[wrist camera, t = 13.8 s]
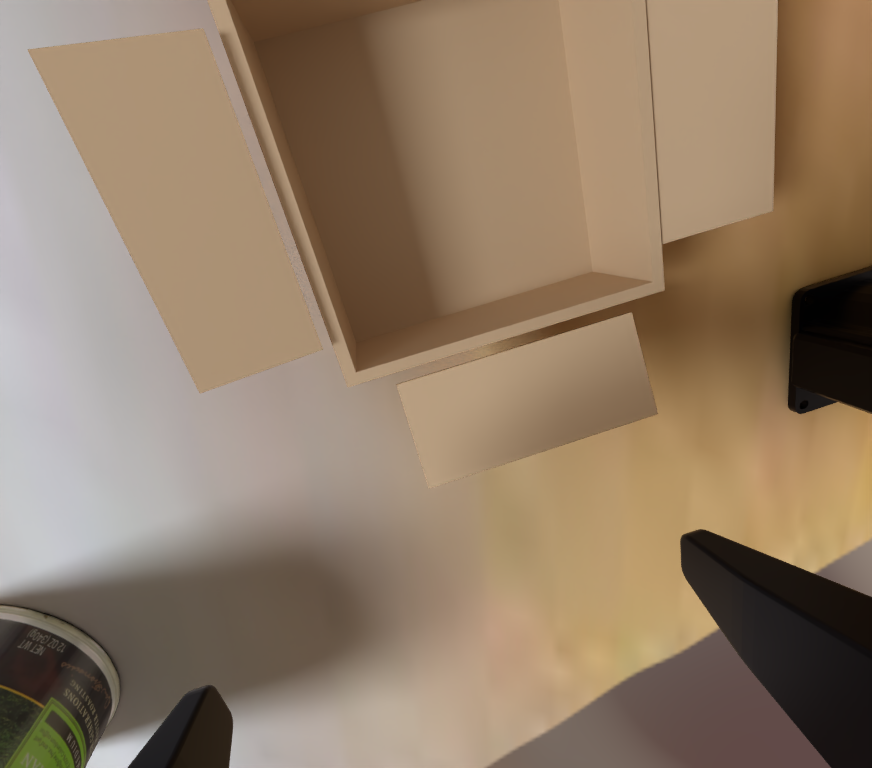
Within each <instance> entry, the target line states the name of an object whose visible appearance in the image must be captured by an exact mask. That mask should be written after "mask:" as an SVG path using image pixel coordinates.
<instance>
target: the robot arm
mask: <svg viewBox="0 0 872 768" xmlns="http://www.w3.org/2000/svg"><path fill="white" fill-rule="evenodd" d="M805 299H806V300H805ZM836 402H840V403H843V404H845V405H848V406H851V407H854V408H857V409H859V410H862V411H865V412H868V413H871V414H872V266H871V267H868V268H865V269H862V270H859V271H855V272H852V273H849V274H846V275H843V276H839V277H836V278H833V279H830V280H827V281H823V282H820V283H817V284H814V285H811V286H808V287H804V288H802V289H800V290H798V291H797V292H796V293H795V295H794V296H793V300H792V317H791V342H790V367H789V392H788V408H789V409H790V410H792V411H794V412H797V413H799V414H802V413H806V412H809V411H812V410H815V409H818V408H821V407H824V406H827V405H830V404H833V403H836ZM680 545H681V567H682V571H683V574H684V576H685V578H686V580H687V581H688V583H689V584H690V586H691V587H692V589H693V590H694V591H695V593H696V594H697V596H698V597H699V599H700V600H701V602H702V603H703V604H704V606H705V607H706V609H707V610H708V612H709V613H710V615H711V616H712V618H713V619H714V620H715V622H716V623H717V625H718V626H719V628H720V629H721V631H722V632H723V633H724V635H725V636H726V637H727V639H728V641H729V642H730V644H731V645H732V646H733V648H734V649H735V651H736V652H737V653H738V655H739V656H740V657H741V659H742V660H743V661H744V663H745V664H746V665H747V666H748V668H749V669H750V670H751V671H752V673H753V674H754V675H755V676H756V677H757V679H758V680H759V681H760V682H761V683H762V685H763V686H764V687H765V688H766V690H767V691H768V692H769V693H770V694H771V696H772V697H773V698H774V699H775V700H776V702H777V703H778V704H779V705H780V706H781V708H782V709H783V710H784V711H785V712H786V714H787V715H788V716H789V717H790V719H791V720H792V721H793V722H794V723H795V724H796V726H797V727H798V728H799V729H800V730H801V732H802V733H803V734H804V735H805V737H806V738H807V739H808V740H809V741H810V743H811V744H812V745H813V746H814V747H815V749H816V750H817V751H818V752H819V753H820V755H821V756H822V757H823V758H824V760H825V761H826V762H827V763H828V764H829V766H830V767H831V768H872V597H870V596H868V595H865V594H863V593H860V592H858V591H856V590H853V589H851V588H848V587H845V586H843V585H841V584H838V583H836V582H833V581H831V580H828V579H826V578H823V577H821V576H818V575H816V574H813V573H811V572H809V571H806V570H804V569H801V568H799V567H796V566H794V565H791V564H789V563H786V562H784V561H781V560H779V559H776V558H774V557H771V556H769V555H766V554H764V553H761V552H759V551H757V550H754V549H752V548H749V547H747V546H744V545H742V544H739V543H737V542H734V541H732V540H729V539H727V538H724V537H722V536H719V535H717V534H714V533H712V532H709V531H707V530H703V529H700V530H696V531H692V532H689V533H686V534H684V535H682V537H681V540H680ZM232 733H233V719H232V715H231V712H230V710H229V709H228V707H227V705H226V704H225V702H224V700H223V699H222V697H221V696H220V694H219V692H218V691H217V689H216V688H215V687H214V686H212V685H207V686H204V687H201V688H198V689H194V690H192V691H189V692H188V693H187V694H185V696H184V697H183V698H182V699H181V700H180V702H179V703H178V704H177V705H176V707H175V708H174V709H173V710H172V712H171V713H170V714H169V716H168V717H167V718H166V719H165V721H164V722H163V723H162V724H161V726H160V727H159V728H158V730H157V731H156V732H155V733H154V735H153V736H152V737H151V738H150V740H149V741H148V742H147V744H146V745H145V746H144V747H143V749H142V750H141V751H140V752H139V754H138V755H137V756H136V758H135V759H134V760H133V761H132V763H131V764H130V765H129V766H128V768H229V762H230V752H231V743H232Z"/></svg>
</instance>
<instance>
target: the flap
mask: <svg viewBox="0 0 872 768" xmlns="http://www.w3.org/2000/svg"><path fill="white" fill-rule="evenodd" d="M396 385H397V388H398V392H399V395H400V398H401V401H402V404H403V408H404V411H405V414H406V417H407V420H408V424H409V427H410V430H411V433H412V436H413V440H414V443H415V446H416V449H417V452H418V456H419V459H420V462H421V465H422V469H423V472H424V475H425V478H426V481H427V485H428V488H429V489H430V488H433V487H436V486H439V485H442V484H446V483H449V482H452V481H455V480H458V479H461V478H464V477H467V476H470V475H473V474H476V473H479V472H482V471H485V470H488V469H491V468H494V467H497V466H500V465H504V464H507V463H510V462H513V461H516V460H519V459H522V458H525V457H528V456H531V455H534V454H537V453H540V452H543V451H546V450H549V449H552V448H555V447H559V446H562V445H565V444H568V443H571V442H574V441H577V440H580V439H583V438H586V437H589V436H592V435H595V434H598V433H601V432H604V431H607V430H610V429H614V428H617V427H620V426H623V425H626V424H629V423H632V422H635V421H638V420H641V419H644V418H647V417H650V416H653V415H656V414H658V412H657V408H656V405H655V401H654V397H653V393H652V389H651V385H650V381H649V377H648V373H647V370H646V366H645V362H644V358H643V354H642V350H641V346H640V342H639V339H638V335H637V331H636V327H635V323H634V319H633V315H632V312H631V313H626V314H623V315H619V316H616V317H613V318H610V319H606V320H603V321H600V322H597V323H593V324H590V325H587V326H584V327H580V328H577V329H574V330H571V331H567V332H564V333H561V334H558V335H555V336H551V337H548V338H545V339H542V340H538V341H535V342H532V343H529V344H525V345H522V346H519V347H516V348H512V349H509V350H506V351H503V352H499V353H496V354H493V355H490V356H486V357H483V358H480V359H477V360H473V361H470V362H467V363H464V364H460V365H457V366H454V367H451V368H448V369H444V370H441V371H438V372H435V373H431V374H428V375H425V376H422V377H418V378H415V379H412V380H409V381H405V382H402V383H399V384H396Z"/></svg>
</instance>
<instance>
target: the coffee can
mask: <svg viewBox="0 0 872 768" xmlns="http://www.w3.org/2000/svg"><path fill="white" fill-rule="evenodd" d="M119 696H120V683H119V677H118V674H117V671H116V669H115V667H114V665H113V664H112V662H111V659H110V658H109V657H108V655H107V654H106V652H105V651H104V650H103V648H102V647H101V646H100V645H99V644H97V643H96V642H95V641H94V640H93V639H92V638H91V637H89V636H88V635H87V634H85V633H84V632H82V631H81V630H79V629H77V628H76V627H74V626H72V625H70V624H68V623H66V622H65V621H62V620H60V619H57V618H55V617H52V616H49V615H46V614H43V613H39V612H36V611H33V610H29V609H25V608H21V607H15V606H6V605H0V768H85V767H86V765H87V763H88V761H89V759H90V757H91V755H92V753H93V751H94V749H95V747H96V745H97V743H98V741H99V739H100V738H101V736H102V734H103V732H104V730H105V728H106V727H107V725H108V724H109V722H110V721H111V719H112V718H113V716H114V713H115V711H116V709H117V705H118V702H119Z"/></svg>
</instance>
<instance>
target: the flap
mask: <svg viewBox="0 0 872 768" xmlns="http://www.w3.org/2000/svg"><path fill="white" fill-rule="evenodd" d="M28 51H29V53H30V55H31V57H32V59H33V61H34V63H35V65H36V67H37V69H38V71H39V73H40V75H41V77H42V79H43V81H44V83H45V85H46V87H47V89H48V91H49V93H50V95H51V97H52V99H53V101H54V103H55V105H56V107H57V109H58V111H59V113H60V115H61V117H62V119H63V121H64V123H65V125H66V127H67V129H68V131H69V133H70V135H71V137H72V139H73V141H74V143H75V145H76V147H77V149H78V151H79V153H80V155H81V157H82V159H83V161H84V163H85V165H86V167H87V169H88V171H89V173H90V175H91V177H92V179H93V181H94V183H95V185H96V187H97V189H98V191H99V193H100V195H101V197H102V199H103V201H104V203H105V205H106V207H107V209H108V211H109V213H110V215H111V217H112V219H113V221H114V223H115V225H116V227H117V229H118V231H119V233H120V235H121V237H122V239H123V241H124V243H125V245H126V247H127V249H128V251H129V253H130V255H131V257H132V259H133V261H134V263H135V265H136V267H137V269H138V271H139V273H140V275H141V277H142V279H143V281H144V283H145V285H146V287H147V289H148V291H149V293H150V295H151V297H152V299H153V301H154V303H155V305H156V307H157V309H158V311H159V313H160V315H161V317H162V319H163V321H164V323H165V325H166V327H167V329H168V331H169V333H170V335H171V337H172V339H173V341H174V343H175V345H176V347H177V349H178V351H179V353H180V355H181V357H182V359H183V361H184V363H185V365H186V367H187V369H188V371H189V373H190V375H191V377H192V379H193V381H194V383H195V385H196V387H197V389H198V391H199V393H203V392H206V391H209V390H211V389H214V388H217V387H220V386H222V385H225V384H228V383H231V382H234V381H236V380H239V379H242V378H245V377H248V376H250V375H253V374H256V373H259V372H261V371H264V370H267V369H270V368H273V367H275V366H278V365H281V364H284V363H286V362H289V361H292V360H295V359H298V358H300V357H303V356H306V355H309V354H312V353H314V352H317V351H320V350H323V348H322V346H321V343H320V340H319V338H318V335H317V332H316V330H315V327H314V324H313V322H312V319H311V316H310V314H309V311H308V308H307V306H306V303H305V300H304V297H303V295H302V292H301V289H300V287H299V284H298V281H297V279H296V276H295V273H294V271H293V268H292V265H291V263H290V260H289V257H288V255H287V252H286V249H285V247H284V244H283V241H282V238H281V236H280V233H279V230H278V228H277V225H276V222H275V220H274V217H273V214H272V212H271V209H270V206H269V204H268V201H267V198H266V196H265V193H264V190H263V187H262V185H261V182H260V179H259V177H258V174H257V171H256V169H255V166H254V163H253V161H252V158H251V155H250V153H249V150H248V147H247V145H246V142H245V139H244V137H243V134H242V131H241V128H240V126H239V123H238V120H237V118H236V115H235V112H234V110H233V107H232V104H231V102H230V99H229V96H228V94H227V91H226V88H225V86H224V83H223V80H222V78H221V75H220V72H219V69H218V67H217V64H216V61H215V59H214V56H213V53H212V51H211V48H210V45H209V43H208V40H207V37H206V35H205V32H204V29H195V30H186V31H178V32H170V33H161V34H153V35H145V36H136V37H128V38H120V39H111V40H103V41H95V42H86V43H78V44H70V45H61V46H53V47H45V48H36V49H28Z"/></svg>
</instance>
